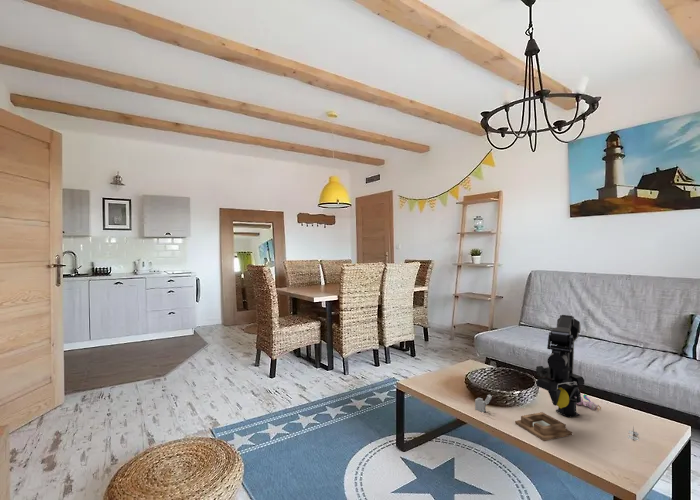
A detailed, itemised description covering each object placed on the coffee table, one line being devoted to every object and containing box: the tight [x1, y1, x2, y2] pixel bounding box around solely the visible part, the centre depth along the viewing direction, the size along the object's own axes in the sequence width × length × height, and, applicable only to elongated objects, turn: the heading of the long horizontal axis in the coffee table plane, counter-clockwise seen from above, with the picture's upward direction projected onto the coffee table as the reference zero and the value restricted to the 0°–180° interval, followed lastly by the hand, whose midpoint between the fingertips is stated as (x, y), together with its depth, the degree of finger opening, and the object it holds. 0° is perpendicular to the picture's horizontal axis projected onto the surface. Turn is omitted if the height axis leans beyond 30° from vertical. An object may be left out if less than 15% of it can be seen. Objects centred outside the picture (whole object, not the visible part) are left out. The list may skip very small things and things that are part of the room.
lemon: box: [556, 387, 569, 408], centre depth 137 cm, size 6×6×8 cm
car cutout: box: [627, 425, 640, 442], centre depth 138 cm, size 15×7×4 cm, turn 140°
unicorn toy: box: [576, 394, 602, 412], centre depth 163 cm, size 6×6×15 cm
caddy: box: [514, 411, 573, 442], centre depth 141 cm, size 14×14×4 cm
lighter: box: [474, 393, 493, 413], centre depth 156 cm, size 7×2×8 cm, turn 42°
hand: (560, 404), depth 137 cm, fingers closed on lemon, 5 cm apart
